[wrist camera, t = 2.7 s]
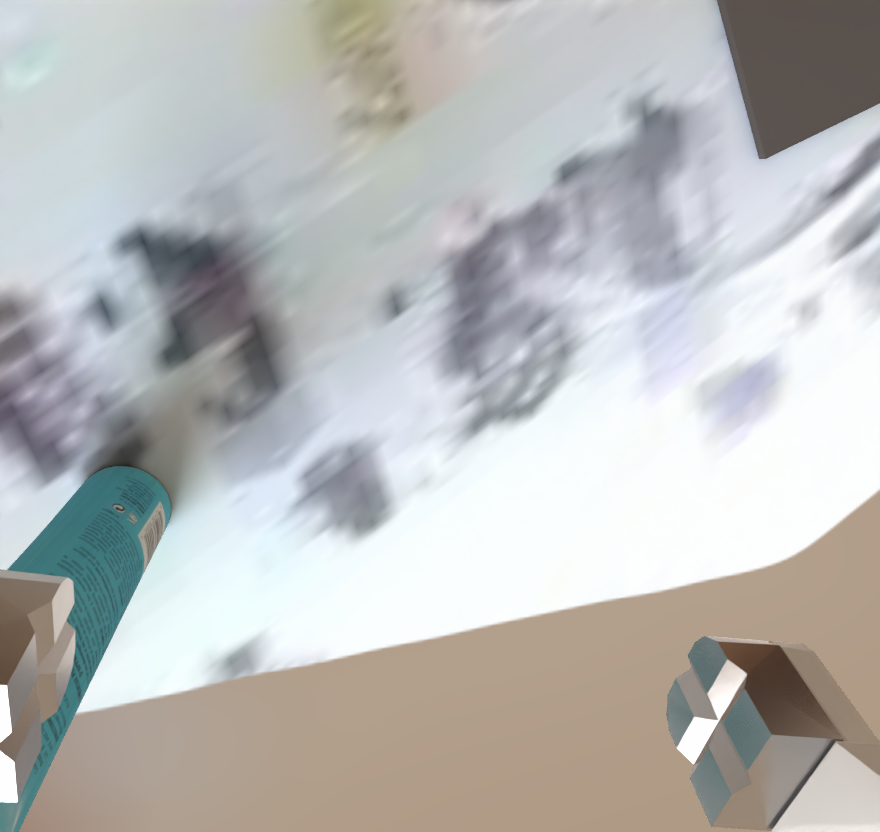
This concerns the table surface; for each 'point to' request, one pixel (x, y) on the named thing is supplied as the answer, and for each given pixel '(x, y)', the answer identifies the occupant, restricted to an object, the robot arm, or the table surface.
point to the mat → (803, 64)
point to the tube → (91, 586)
